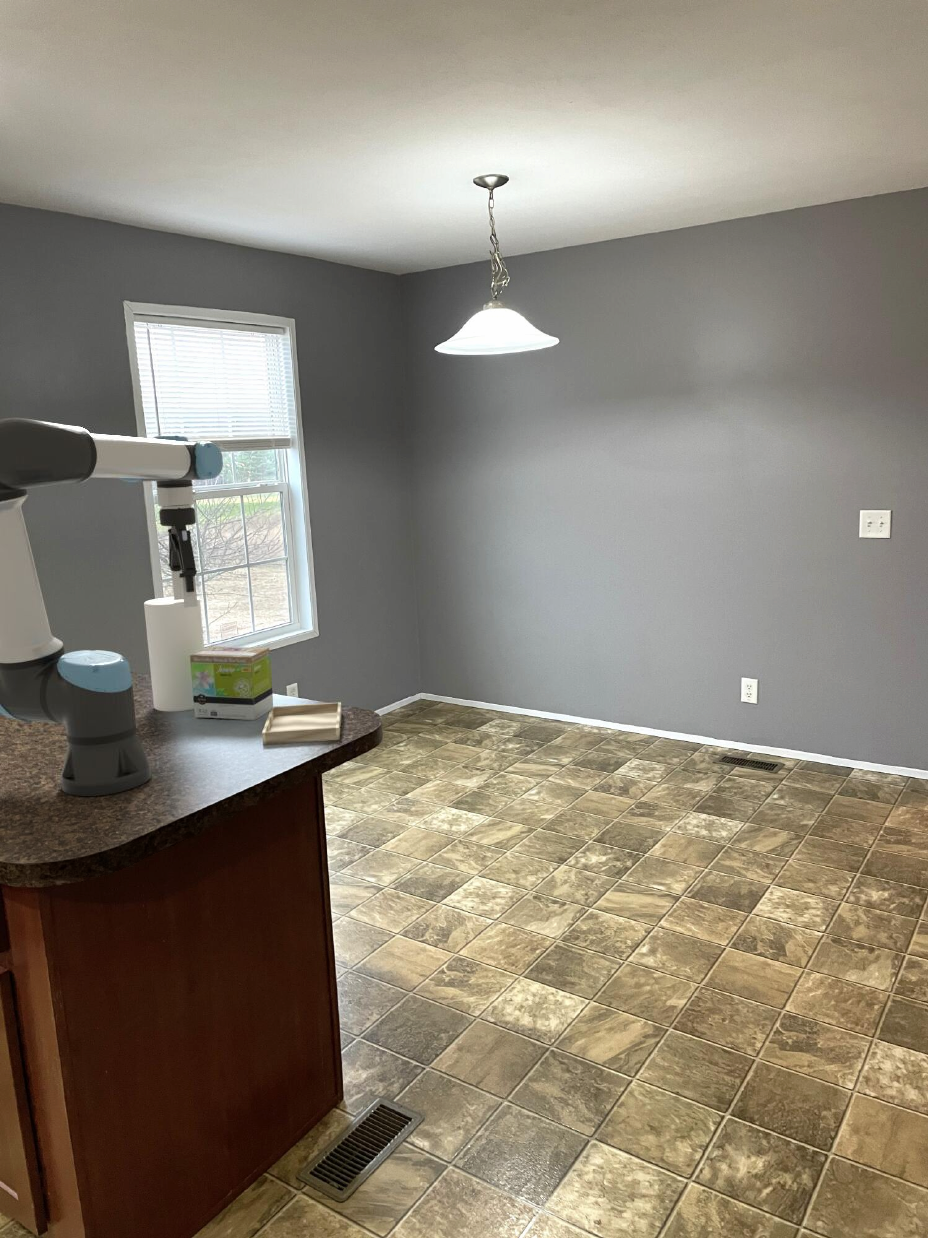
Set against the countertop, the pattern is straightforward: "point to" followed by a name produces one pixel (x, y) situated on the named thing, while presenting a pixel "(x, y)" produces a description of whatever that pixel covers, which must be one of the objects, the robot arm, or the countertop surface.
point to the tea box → (231, 682)
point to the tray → (303, 723)
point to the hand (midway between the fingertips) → (185, 603)
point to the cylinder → (172, 650)
